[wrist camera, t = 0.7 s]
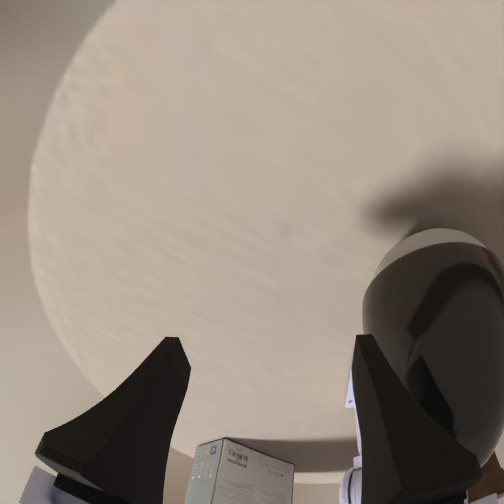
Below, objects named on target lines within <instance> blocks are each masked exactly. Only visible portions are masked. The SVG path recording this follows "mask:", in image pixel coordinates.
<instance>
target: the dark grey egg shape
mask: <svg viewBox="0 0 504 504" xmlns="http://www.w3.org/2000/svg"><path fill="white" fill-rule="evenodd" d="M362 322H363V333H364V334H372V335H373V336H374V338H375V340H376V342H377V343H378V345H379V347H380V349H381V351H382V352H383V354H384V356H385V357H386V359H387V361H388V362H389V364H390V365H391V367H392V369H393V370H394V372H395V373H396V375H397V376H398V378H399V379H400V380H401V382H402V383H403V385H404V386H405V387H406V389H407V390H408V391H409V393H410V394H411V395H412V397H413V398H414V399H415V400H416V402H417V403H418V404H419V405H420V406H421V407H422V408H423V410H424V411H425V412H426V413H427V414H428V415H429V416H430V417H431V418H432V419H433V420H434V421H435V422H436V423H437V424H438V425H439V426H440V427H441V428H442V429H443V430H444V431H445V432H446V433H448V434H449V435H450V436H451V437H452V438H453V439H455V440H456V441H457V442H458V443H460V444H461V445H462V446H464V447H465V448H466V449H468V450H469V451H471V452H472V453H473V454H475V455H476V456H477V458H478V461H479V463H480V466H481V468H482V467H483V466H484V465H485V463H486V462H487V461H488V459H489V458H490V456H491V455H492V453H493V451H494V450H495V448H496V446H497V444H498V442H499V439H500V437H501V435H502V433H503V430H504V266H503V264H502V262H501V260H500V259H499V258H498V257H497V256H496V255H495V254H494V253H493V252H491V251H490V250H488V249H487V248H486V247H485V246H484V245H483V244H482V243H481V242H480V241H478V240H477V239H476V238H474V237H473V236H471V235H469V234H467V233H464V232H462V231H459V230H455V229H448V228H436V229H429V230H425V231H421V232H418V233H415V234H413V235H411V236H409V237H407V238H405V239H404V240H402V241H401V242H399V243H398V244H397V245H395V246H394V247H393V248H392V249H391V250H390V251H389V252H388V253H387V254H386V255H385V257H384V258H383V259H382V261H381V262H380V264H379V265H378V267H377V269H376V271H375V273H374V275H373V278H372V281H371V283H370V285H369V287H368V288H367V290H366V293H365V295H364V299H363V305H362Z"/></svg>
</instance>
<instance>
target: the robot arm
mask: <svg viewBox="0 0 504 504" xmlns="http://www.w3.org/2000/svg"><path fill="white" fill-rule="evenodd" d="M190 371H191V366H190V364H189V362H188V359H187V357H186V354H185V352H184V350H183V347H182V345H181V342H180V340H179V337H165V338H164V339H163V340H162V341H161V342H160V344H159V345H158V346H157V347H156V348H155V349H154V350H153V351H152V352H151V354H150V355H149V356H148V357H147V358H146V359H145V360H144V361H143V362H142V363H141V364H140V366H139V367H138V368H137V369H136V370H135V371H134V372H133V373H132V374H131V375H130V376H129V377H128V378H127V379H126V380H125V381H124V382H123V383H122V384H121V385H120V386H119V387H118V388H116V389H115V390H114V391H113V392H112V393H111V394H109V395H108V396H107V397H106V398H104V399H103V400H102V401H101V402H99V403H98V404H96V405H95V406H94V407H92V408H91V409H89V410H88V411H86V412H85V413H83V414H82V415H80V416H78V417H76V418H75V419H73V420H71V421H69V422H68V423H66V424H63V425H61V426H59V427H57V428H54V429H52V430H50V431H48V432H45V433H44V435H43V437H42V439H41V441H40V443H39V445H38V447H37V449H36V452H35V455H36V457H38V458H39V459H40V460H41V461H42V462H44V463H45V464H46V465H48V466H49V467H50V468H52V469H53V470H55V471H56V472H58V475H57V477H55V476H54V475H52V474H50V473H48V472H46V471H45V470H43V469H41V468H39V467H38V466H34V468H33V471H32V473H31V475H30V477H29V480H28V482H27V484H26V487H25V489H24V491H23V494H22V496H21V498H20V501H19V504H163V489H164V480H165V471H166V465H167V458H168V453H169V447H170V442H171V438H172V434H173V430H174V427H175V424H176V421H177V418H178V415H179V412H180V409H181V406H182V403H183V400H184V397H185V394H186V391H187V387H188V382H189V377H190ZM345 407H346V408H354V410H355V420H356V432H357V445H358V451H359V454H360V455H359V456H357V457H354V458H353V459H354V467H352V468H350V469H349V470H348V471H347V472H346V474H345V475H344V478H343V479H342V481H341V485H340V490H339V502H340V504H468V494H467V490H468V489H469V488H471V487H472V486H474V485H475V484H477V483H478V482H479V481H480V480H481V478H482V477H483V475H482V471H481V466H480V463H479V461H478V458H477V456H476V455H475V454H473V453H472V452H471V451H469V450H468V449H466V448H465V447H464V446H462V445H461V444H460V443H458V442H457V441H456V440H455V439H453V438H452V437H451V436H450V435H449V434H448V433H446V432H445V431H444V430H443V429H442V428H441V427H440V426H439V425H438V424H437V423H436V422H435V421H434V420H433V419H432V418H431V417H430V416H429V415H428V414H427V413H426V412H425V411H424V410H423V408H422V407H421V406H420V405H419V404H418V403H417V402H416V400H415V399H414V398H413V397H412V395H411V394H410V393H409V391H408V390H407V389H406V387H405V386H404V385H403V383H402V382H401V380H400V379H399V378H398V376H397V375H396V373H395V372H394V370H393V369H392V367H391V365H390V364H389V362H388V361H387V359H386V357H385V356H384V354H383V352H382V351H381V349H380V347H379V345H378V343H377V342H376V340H375V338H374V336H373V335H372V334H364V335H356V341H355V348H354V354H353V358H352V365H351V372H350V378H349V384H348V390H347V396H346V402H345ZM469 504H498V499H497V493H493V494H491V495H488V496H486V497H484V498H481V499H479V500H476V501H474V502H471V503H469Z"/></svg>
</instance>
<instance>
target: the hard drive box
mask: <svg viewBox="0 0 504 504" xmlns="http://www.w3.org/2000/svg"><path fill="white" fill-rule="evenodd" d="M293 482H294V465H293V464H289V463H286V462H284V461H281V460H279V459H275V458H272V457H270V456H267V455H264V454H262V453H259V452H256V451H254V450H251V449H249V448H248V447H245V446H242V445H240V444H237V443H234V442H232V441H230V440H228V439H221V440H218V441H214V442H211V443H208V444H204V445H200V446H197V449H196V453H195V458H194V462H193V467H192V471H191V475H190V479H189V484H188V488H187V492H186V496H185V501H184V504H292V497H293Z"/></svg>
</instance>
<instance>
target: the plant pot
mask: <svg viewBox="0 0 504 504" xmlns="http://www.w3.org/2000/svg"><path fill="white" fill-rule="evenodd" d="M481 471H482V475H483V477H482V478H481V480H480V481H479V482H478V483H477V484H475V485H474V486H472V487H471V488H469V489H468V490H467V494H468V504H469V503H471V502H474V501H476V500H479V499H481V498H484V497H486V496H488V495H491V494H493V493H497V499H500V498H502V497H503V496H504V469H503V468H501V467H500V465H499V462H498V460H497V457H496V454H495V452H494V451H493V453H492V455H491V456H490V458H489V459H488V461H487V462H486V463H485V465H484V466H483V467H482V468H481Z"/></svg>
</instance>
